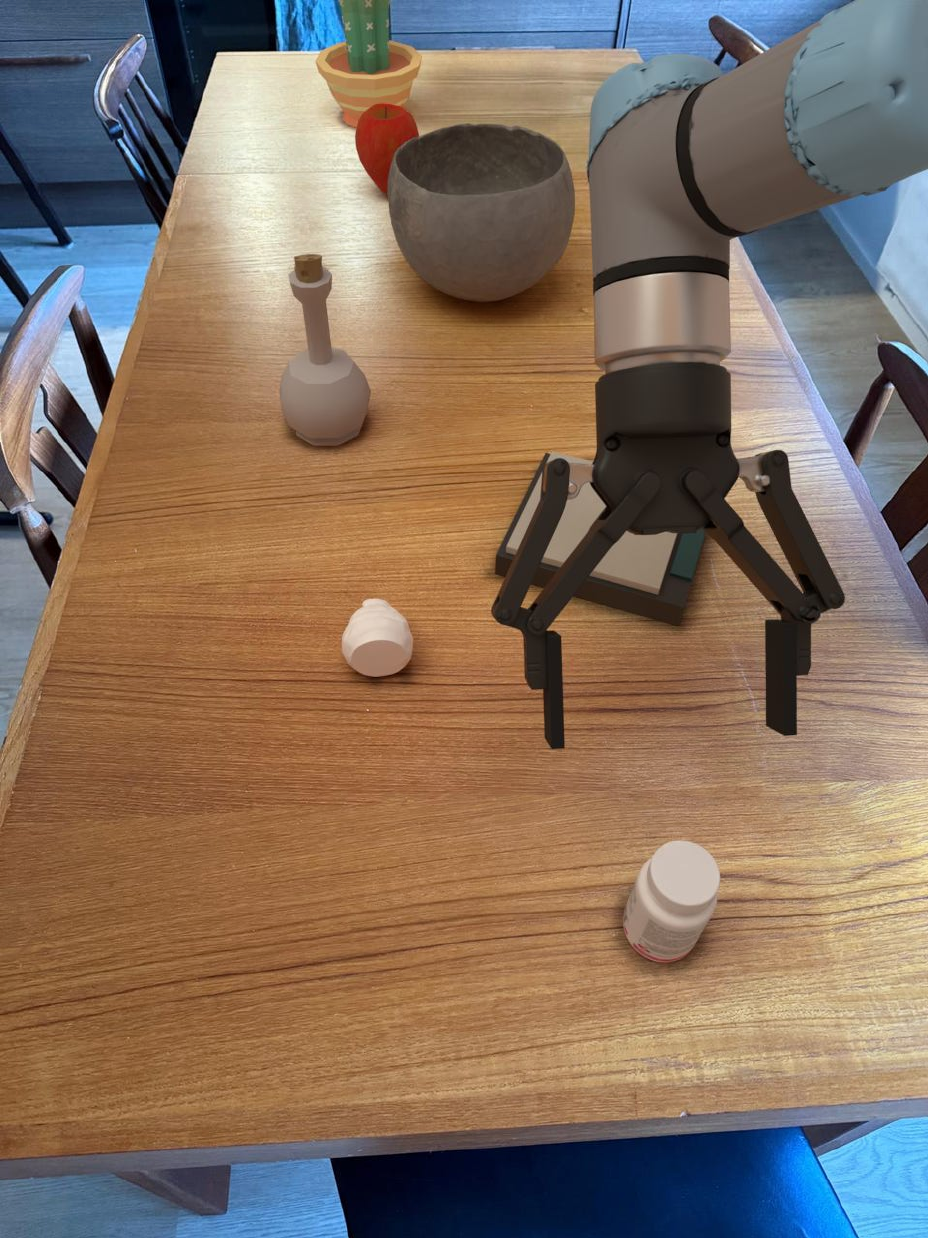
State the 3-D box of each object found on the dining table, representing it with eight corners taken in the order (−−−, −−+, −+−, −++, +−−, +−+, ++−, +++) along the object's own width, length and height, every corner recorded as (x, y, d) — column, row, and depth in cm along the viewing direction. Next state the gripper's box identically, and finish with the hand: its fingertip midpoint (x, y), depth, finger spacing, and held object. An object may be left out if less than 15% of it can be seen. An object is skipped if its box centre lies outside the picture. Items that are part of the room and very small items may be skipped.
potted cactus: (383, 88, 142) (373, -111, 123) (444, 120, 135) (443, -86, 115) (301, 113, 136) (276, -93, 116) (360, 148, 128) (344, -66, 109)
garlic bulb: (408, 616, 74) (405, 572, 69) (416, 675, 70) (413, 632, 66) (341, 623, 73) (334, 579, 69) (345, 683, 69) (339, 640, 65)
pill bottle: (712, 940, 57) (745, 887, 50) (652, 978, 55) (679, 929, 49) (665, 878, 60) (692, 820, 53) (607, 912, 58) (626, 857, 52)
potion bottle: (288, 458, 86) (257, 285, 72) (282, 401, 91) (252, 230, 77) (379, 447, 87) (366, 275, 73) (367, 392, 92) (353, 222, 79)
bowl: (581, 253, 111) (596, 124, 99) (546, 346, 98) (558, 211, 86) (422, 229, 114) (419, 102, 102) (368, 316, 101) (358, 182, 90)
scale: (711, 514, 82) (719, 488, 79) (678, 626, 73) (686, 601, 71) (543, 471, 85) (546, 445, 83) (494, 573, 77) (496, 547, 74)
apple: (346, 187, 121) (338, 100, 112) (400, 172, 124) (397, 86, 116) (378, 213, 116) (372, 125, 108) (433, 196, 119) (432, 109, 111)
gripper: (843, 373, 55) (843, 712, 57) (439, 387, 54) (454, 734, 56) (911, 349, 48) (908, 740, 50) (444, 364, 46) (461, 765, 48)
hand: (668, 737), depth 53 cm, fingers open, 13 cm apart
